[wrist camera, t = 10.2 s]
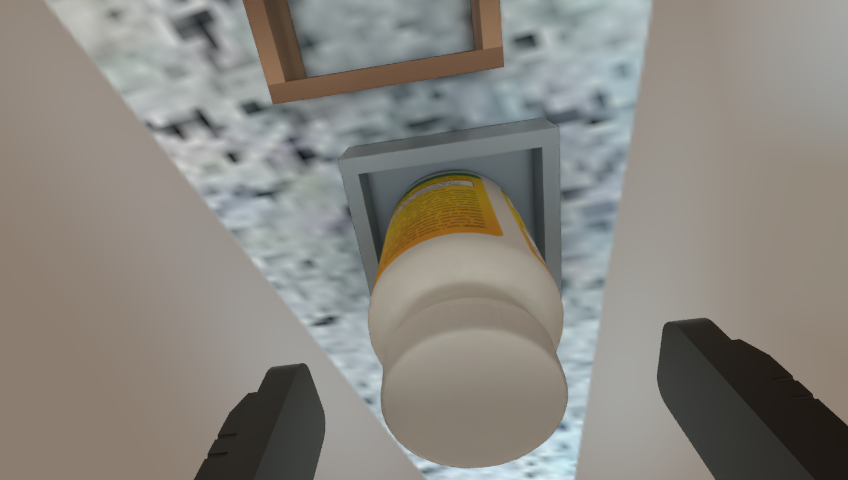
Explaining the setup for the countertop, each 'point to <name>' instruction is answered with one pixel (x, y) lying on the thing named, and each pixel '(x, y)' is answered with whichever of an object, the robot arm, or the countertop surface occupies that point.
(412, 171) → the tray
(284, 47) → the wooden square frame
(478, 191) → the supplement bottle
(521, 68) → the countertop surface
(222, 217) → the countertop surface
